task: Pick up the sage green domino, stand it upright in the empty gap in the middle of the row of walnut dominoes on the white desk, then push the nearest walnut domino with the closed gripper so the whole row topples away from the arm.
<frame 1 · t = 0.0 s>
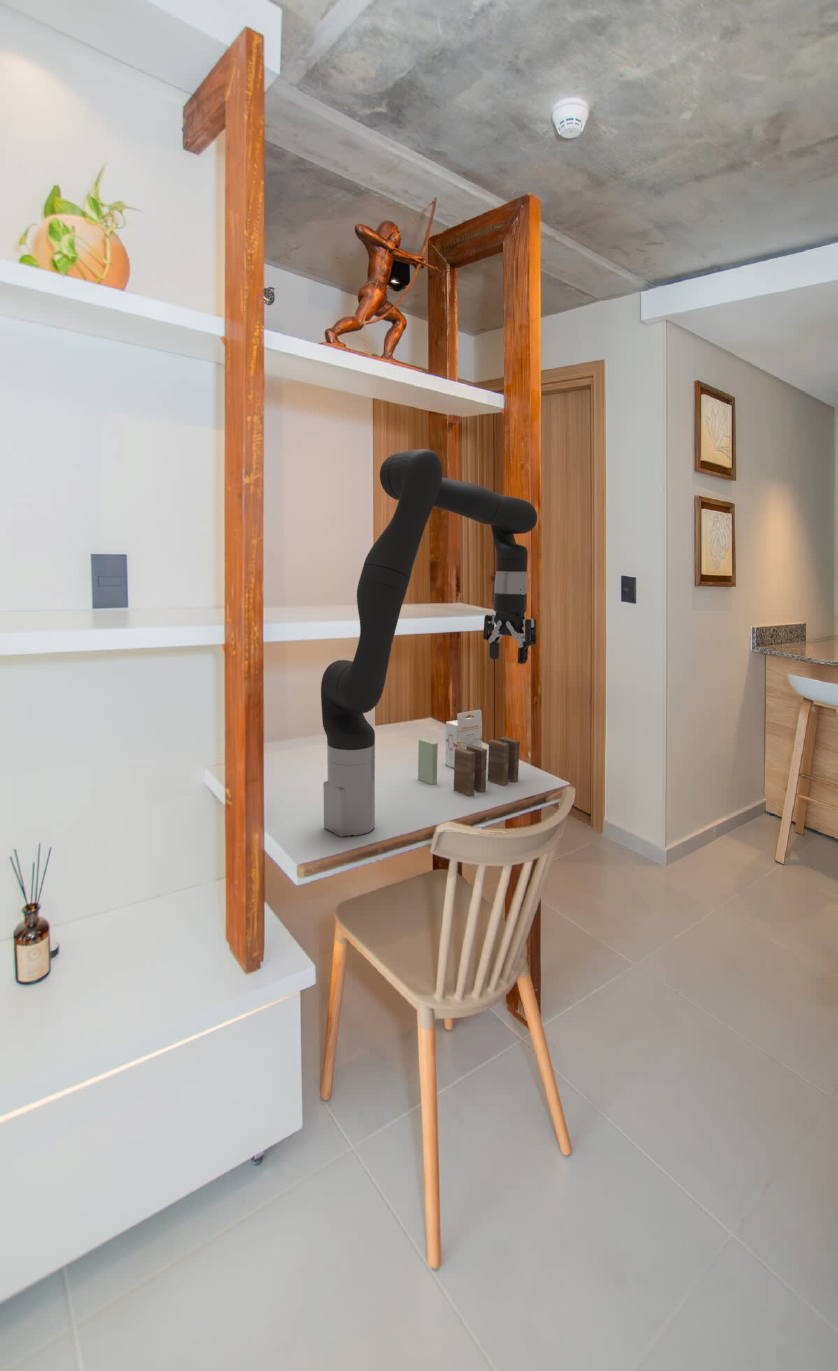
hand: (507, 661, 155), 29 cm above the table, tool pointing down, fingers open, 8 cm apart
domino 5: (507, 779, 161), on the table
domino 4: (497, 782, 159), on the table
domino 1: (463, 792, 152), on the table
domino 2: (475, 789, 154), on the table
gap domino: (427, 781, 159), on the table
ink cartridge box: (463, 765, 172), on the table
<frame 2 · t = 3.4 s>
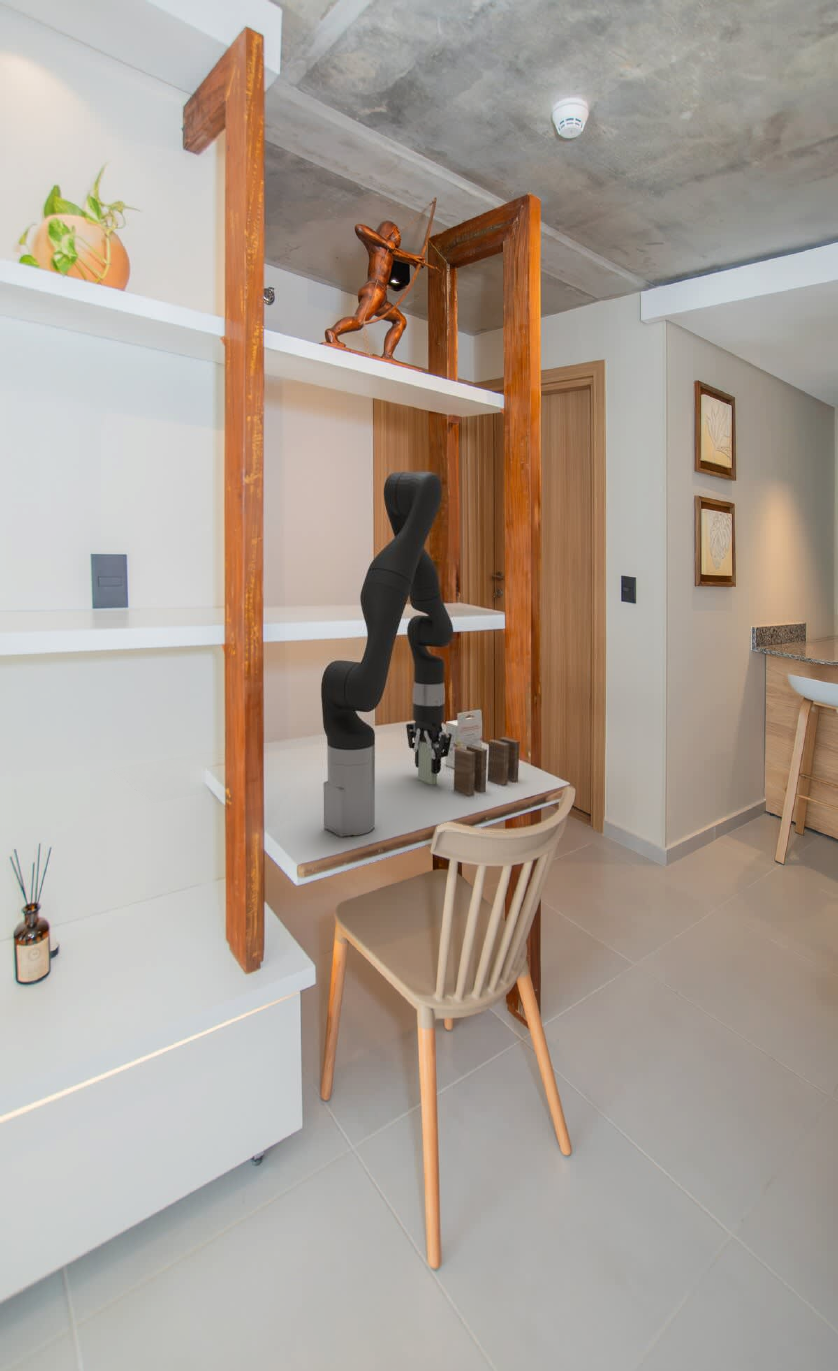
hand: (427, 769, 158), 3 cm above the table, tool pointing down, fingers closed on gap domino, 5 cm apart
gap domino: (427, 781, 159), on the table, touching gripper
everything else where it was.
when the fingers open (4 cm above the table, at t = 11.3 s): gap domino drops 1 cm, on the table.
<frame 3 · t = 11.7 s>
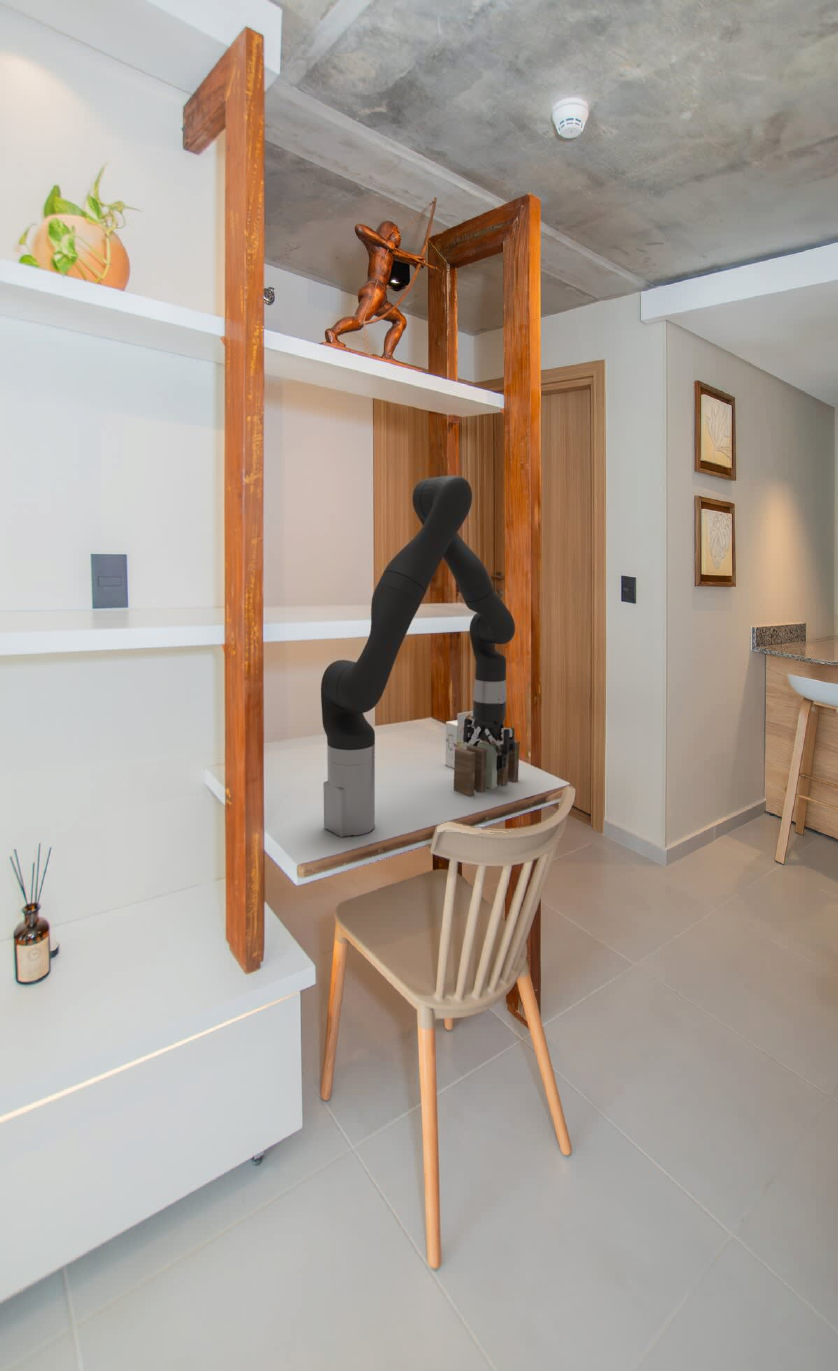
hand: (487, 765, 155), 5 cm above the table, tool pointing down, fingers open, 8 cm apart
gap domino: (486, 785, 157), on the table
everything else where it was.
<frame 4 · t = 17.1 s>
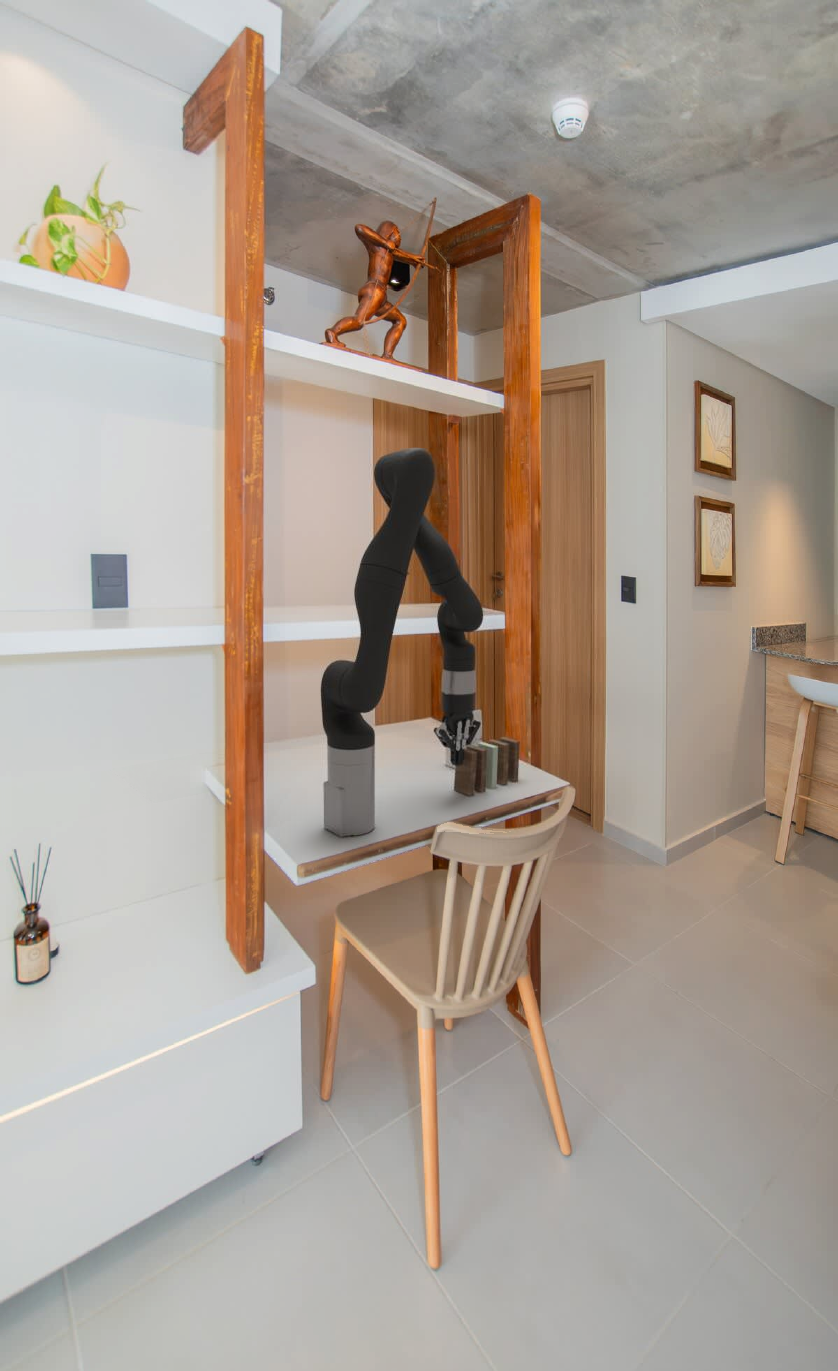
hand: (456, 764, 149), 7 cm above the table, tool pointing down, fingers closed
domino 1: (463, 792, 152), on the table, touching gripper
everything else where it was.
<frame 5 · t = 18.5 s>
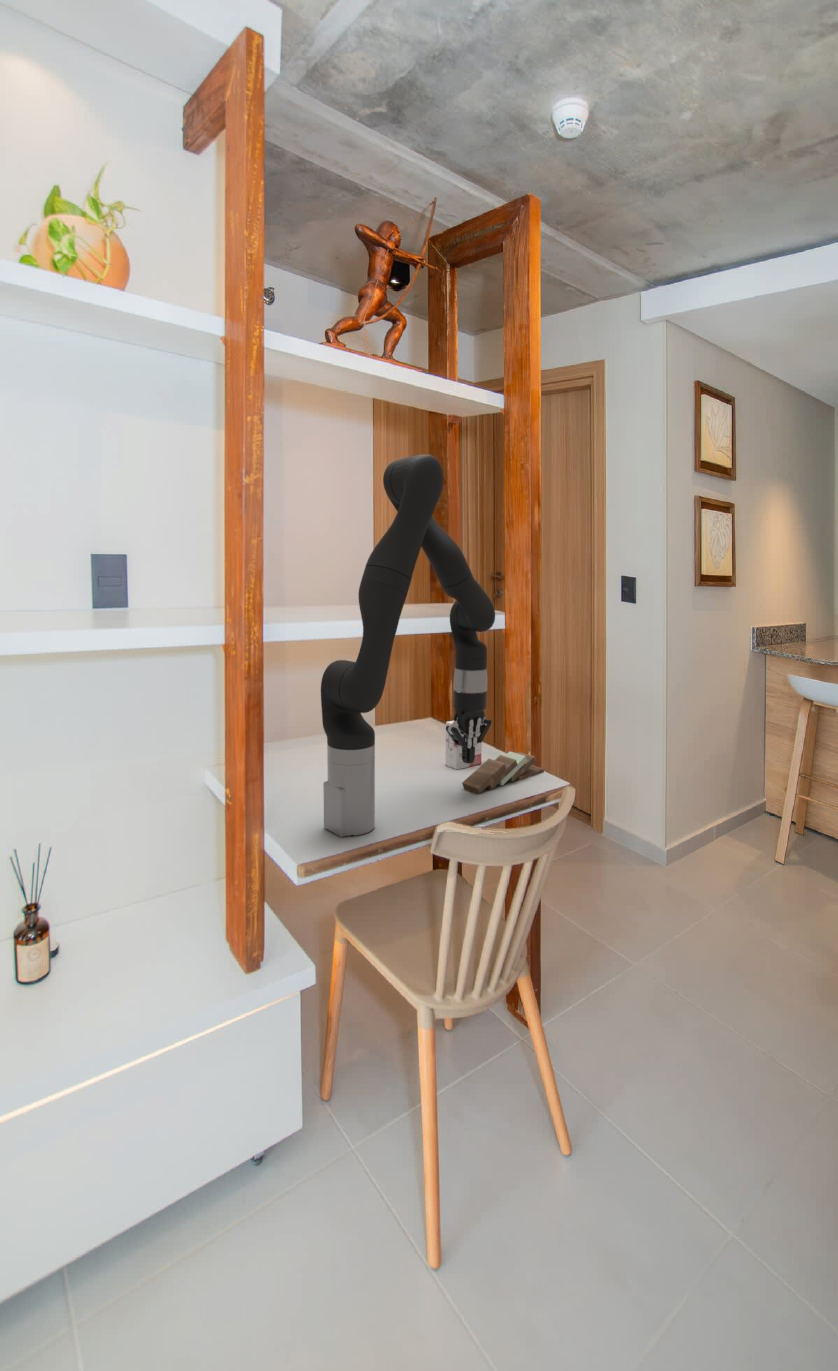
hand: (468, 762, 151), 7 cm above the table, tool pointing down, fingers closed
domino 5: (510, 777, 162), on the table, tilted 90°
domino 4: (503, 777, 160), point 1 cm above the table, tilted 72°, touching gap domino
domino 1: (470, 788, 152), point 1 cm above the table, tilted 65°, touching domino 2
domino 2: (482, 784, 155), point 1 cm above the table, tilted 65°, touching domino 1, gap domino
gap domino: (493, 780, 158), point 1 cm above the table, tilted 65°, touching domino 2, domino 4
everything else where it was.
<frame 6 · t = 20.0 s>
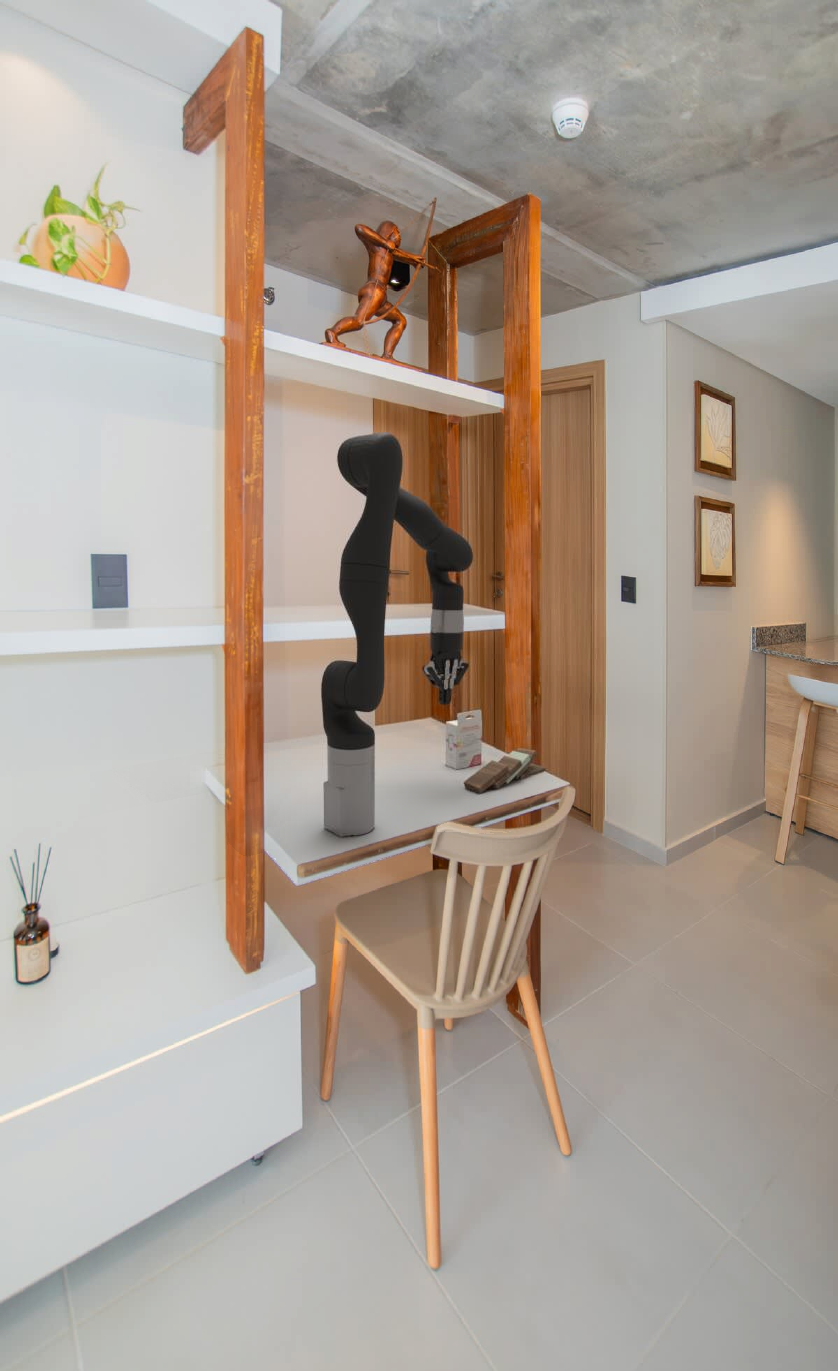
hand: (444, 704, 153), 20 cm above the table, tool pointing down, fingers closed
domino 5: (513, 776, 163), on the table, tilted 90°, touching domino 4
domino 4: (507, 774, 162), point 1 cm above the table, tilted 68°, touching domino 5, gap domino
domino 2: (488, 784, 155), point 1 cm above the table, tilted 67°, touching domino 1, gap domino
gap domino: (498, 778, 158), point 1 cm above the table, tilted 67°, touching domino 2, domino 4
everything else where it was.
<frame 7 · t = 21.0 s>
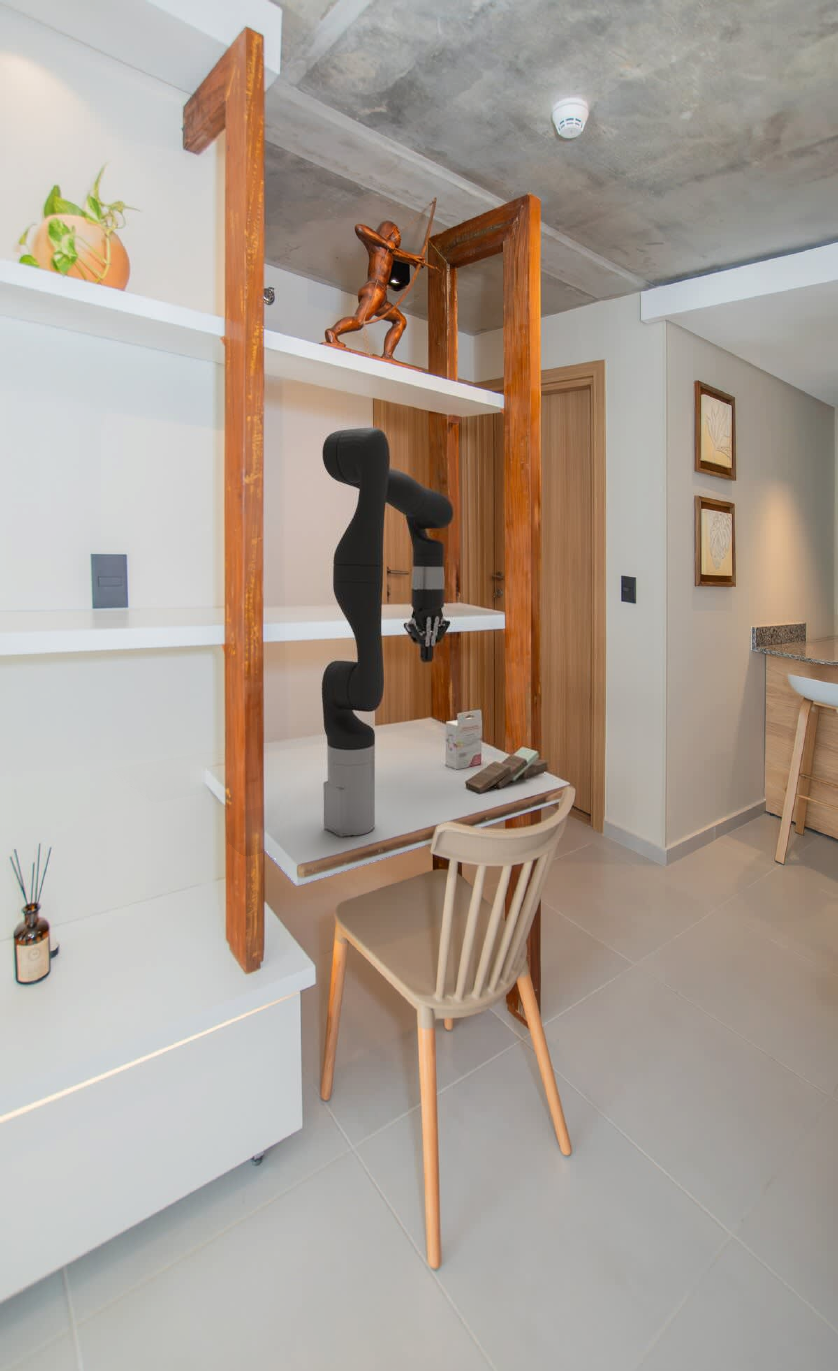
hand: (426, 661, 154), 29 cm above the table, tool pointing down, fingers closed
domino 4: (515, 770, 162), point 2 cm above the table, tilted 90°, touching domino 5
domino 1: (472, 787, 153), point 1 cm above the table, tilted 70°
domino 2: (491, 783, 156), point 1 cm above the table, tilted 64°
gap domino: (505, 775, 160), point 1 cm above the table, tilted 64°
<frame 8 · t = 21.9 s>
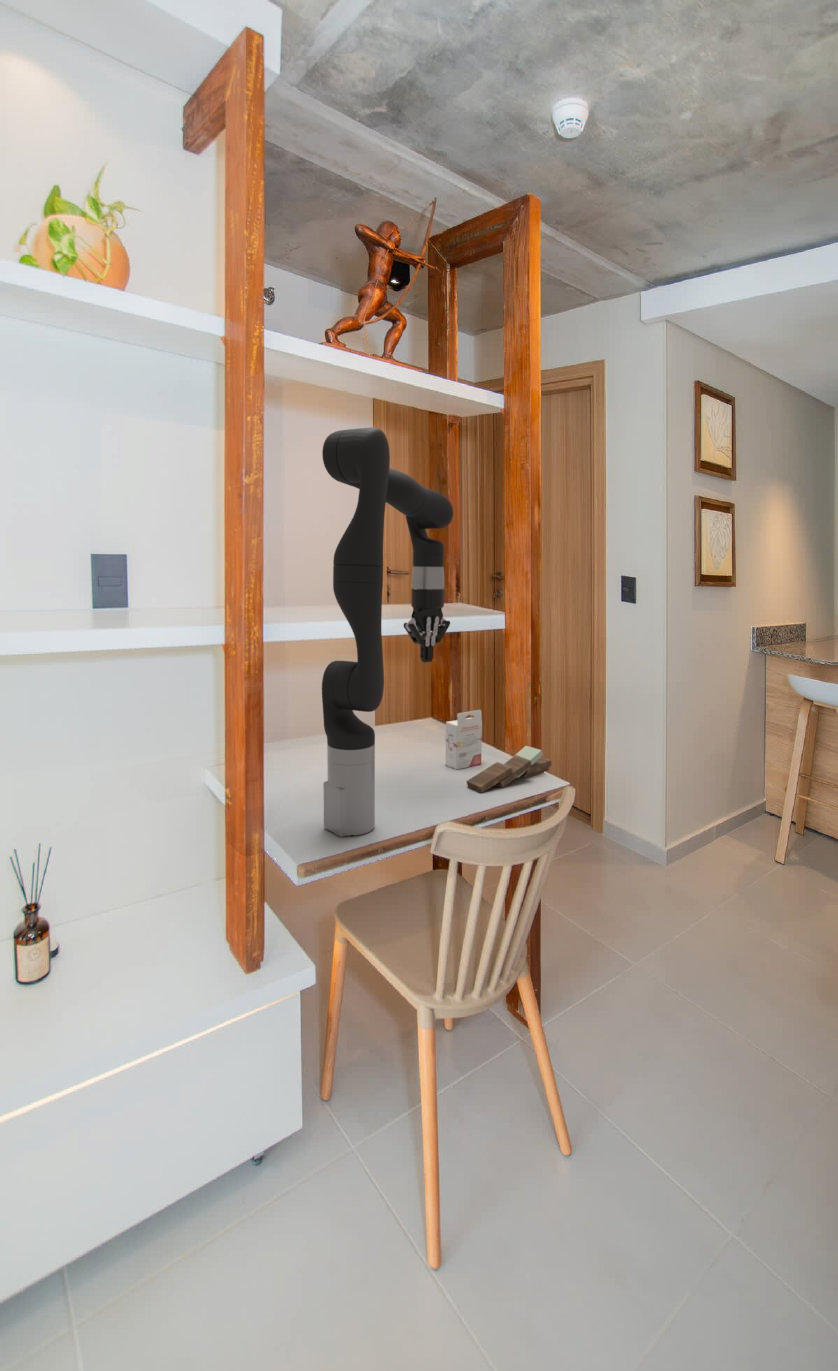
hand: (426, 661, 154), 29 cm above the table, tool pointing down, fingers closed
domino 4: (519, 769, 164), point 2 cm above the table, tilted 89°, touching domino 5
domino 1: (474, 787, 153), point 1 cm above the table, tilted 72°, touching domino 2
domino 2: (494, 782, 157), point 1 cm above the table, tilted 67°, touching domino 1, gap domino
gap domino: (509, 772, 161), point 2 cm above the table, tilted 66°, touching domino 2
at the end: domino 5 tilted 90°; gap domino tilted 68°; gap domino inside the target area (5.3 cm from its centre), point 1.4 cm above the table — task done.
